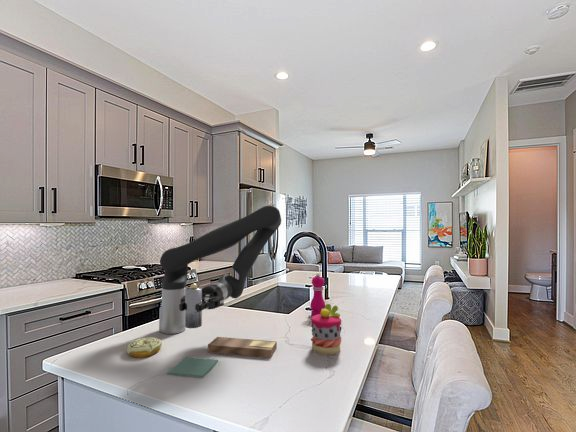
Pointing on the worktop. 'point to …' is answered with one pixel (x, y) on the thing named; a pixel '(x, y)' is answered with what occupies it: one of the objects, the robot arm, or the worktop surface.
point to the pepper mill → (317, 295)
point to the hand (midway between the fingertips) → (189, 307)
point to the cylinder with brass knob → (193, 306)
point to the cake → (326, 331)
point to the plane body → (242, 347)
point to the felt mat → (193, 367)
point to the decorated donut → (144, 347)
